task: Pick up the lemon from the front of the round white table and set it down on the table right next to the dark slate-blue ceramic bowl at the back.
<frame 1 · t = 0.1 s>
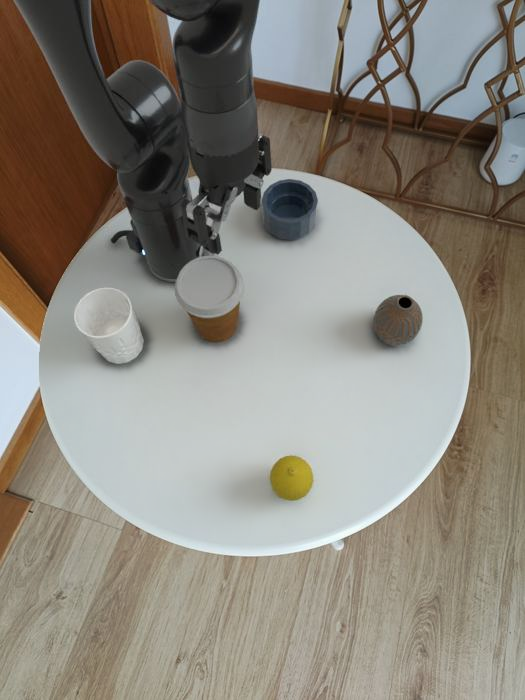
hand: (233, 227, 69), 17 cm above the table, tool pointing down, fingers open, 8 cm apart
lemon: (290, 484, 72), on the table
white cup: (122, 344, 82), on the table
disposable coffee cup: (217, 324, 83), on the table
vase: (392, 332, 82), on the table
bowl: (289, 220, 91), on the table
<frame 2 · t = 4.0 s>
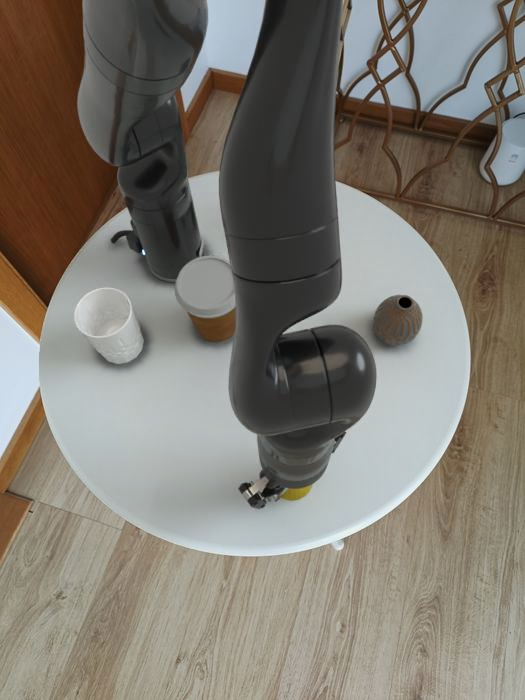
hand: (291, 479, 69), 4 cm above the table, tool pointing down, fingers closed on lemon, 5 cm apart
lemon: (290, 484, 72), on the table, touching gripper
everything else where it was.
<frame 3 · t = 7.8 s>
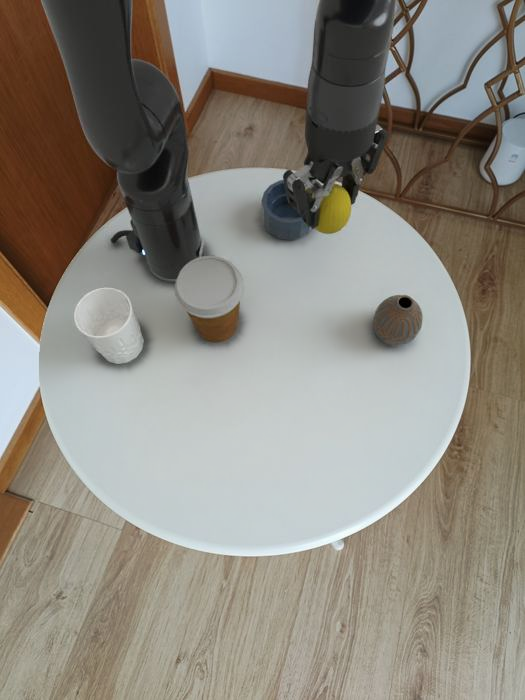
hand: (328, 211, 70), 17 cm above the table, tool pointing down, fingers closed on lemon, 5 cm apart
lemon: (326, 229, 73), point 14 cm above the table, touching gripper
everything else where it was.
when the fingers open (3 cm above the table, at t = 12.0 s): lemon stays where it is, on the table.
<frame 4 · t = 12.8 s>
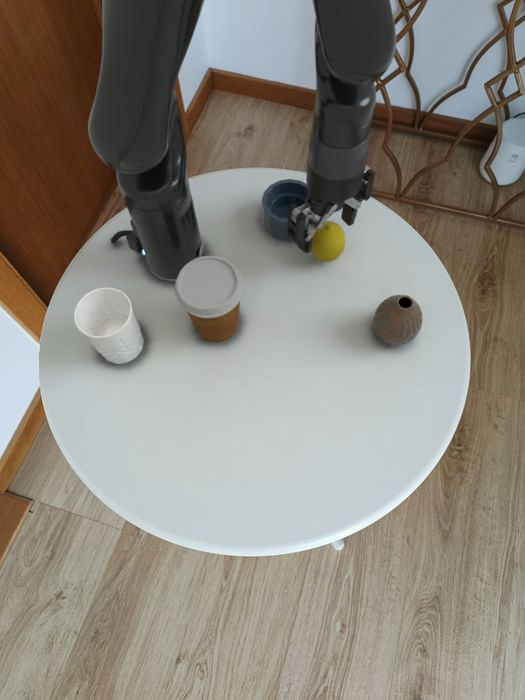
hand: (326, 235, 83), 5 cm above the table, tool pointing down, fingers open, 8 cm apart
lemon: (325, 257, 88), on the table
everything else where it was.
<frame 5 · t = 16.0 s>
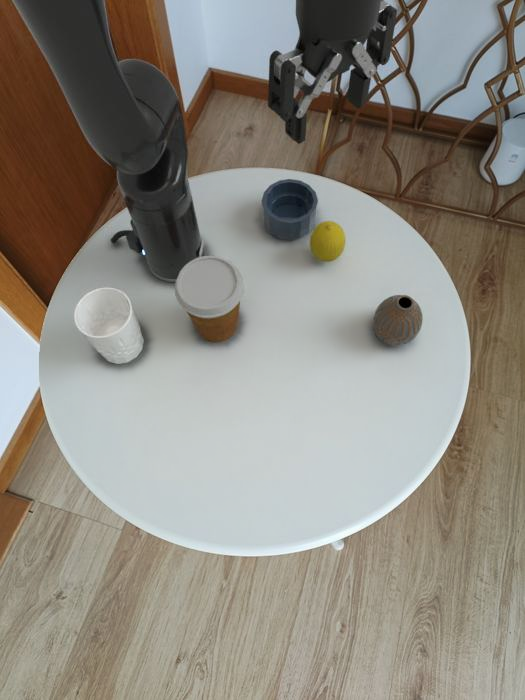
hand: (326, 120, 59), 30 cm above the table, tool pointing down, fingers open, 8 cm apart
nothing on the table moved.
at the end: lemon 9.7 cm from the bowl (horizontally); lemon touching table; the gripper is holding nothing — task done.
